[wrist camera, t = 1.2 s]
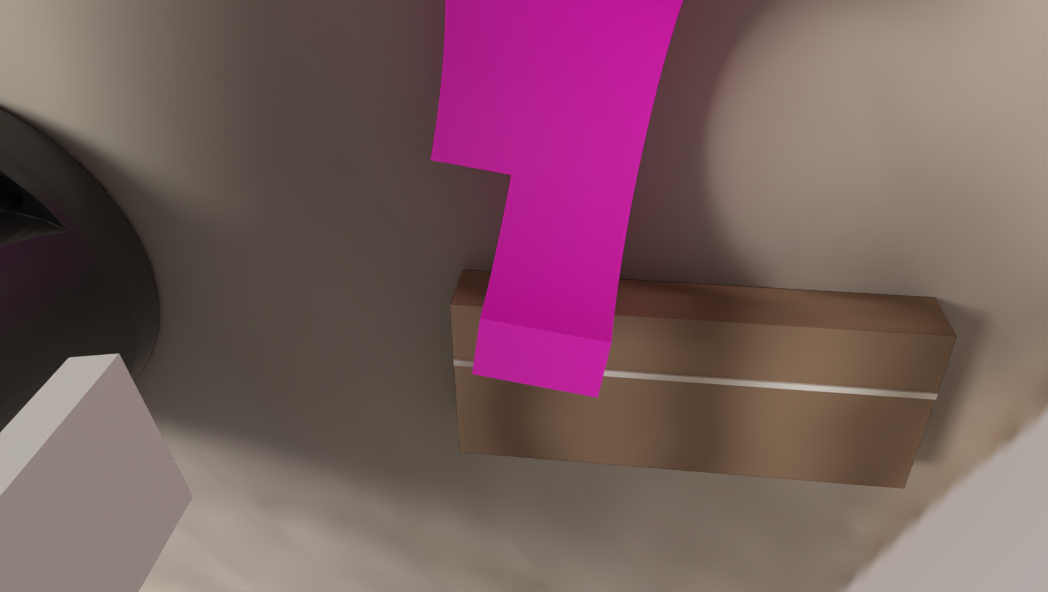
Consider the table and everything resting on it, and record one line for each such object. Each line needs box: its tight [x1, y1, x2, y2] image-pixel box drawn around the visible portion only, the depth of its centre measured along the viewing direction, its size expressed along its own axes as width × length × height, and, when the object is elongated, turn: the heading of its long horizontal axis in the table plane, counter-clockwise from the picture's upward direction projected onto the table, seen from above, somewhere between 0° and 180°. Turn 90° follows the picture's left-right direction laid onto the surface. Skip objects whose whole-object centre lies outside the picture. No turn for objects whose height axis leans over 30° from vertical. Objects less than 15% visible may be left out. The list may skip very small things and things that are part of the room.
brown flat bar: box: [450, 270, 956, 488], centre depth 31 cm, size 17×7×2 cm, turn 90°
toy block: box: [431, 0, 683, 398], centre depth 23 cm, size 15×6×8 cm, turn 172°
